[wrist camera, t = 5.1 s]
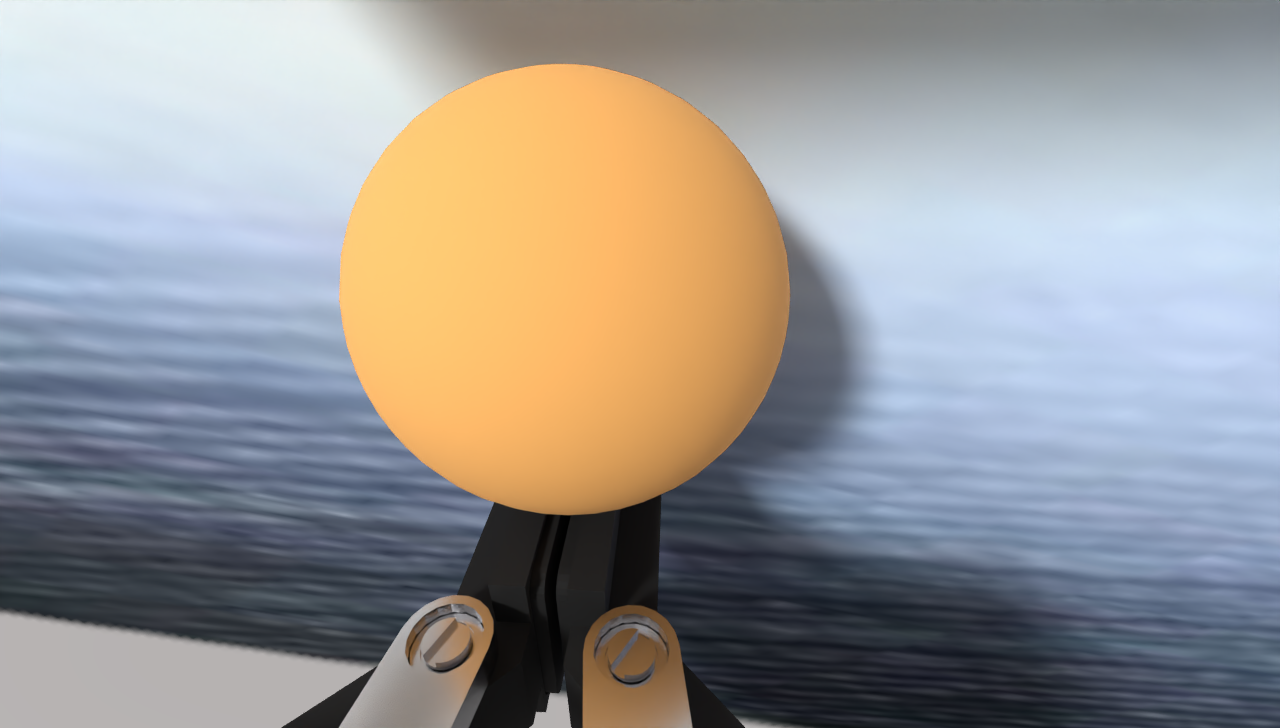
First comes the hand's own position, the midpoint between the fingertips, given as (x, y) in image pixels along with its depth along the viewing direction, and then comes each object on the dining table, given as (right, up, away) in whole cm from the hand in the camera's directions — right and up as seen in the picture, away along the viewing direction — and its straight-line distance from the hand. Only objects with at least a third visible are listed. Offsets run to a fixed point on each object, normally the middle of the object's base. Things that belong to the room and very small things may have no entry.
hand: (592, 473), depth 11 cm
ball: (0, +3, -3) cm, 5 cm away
